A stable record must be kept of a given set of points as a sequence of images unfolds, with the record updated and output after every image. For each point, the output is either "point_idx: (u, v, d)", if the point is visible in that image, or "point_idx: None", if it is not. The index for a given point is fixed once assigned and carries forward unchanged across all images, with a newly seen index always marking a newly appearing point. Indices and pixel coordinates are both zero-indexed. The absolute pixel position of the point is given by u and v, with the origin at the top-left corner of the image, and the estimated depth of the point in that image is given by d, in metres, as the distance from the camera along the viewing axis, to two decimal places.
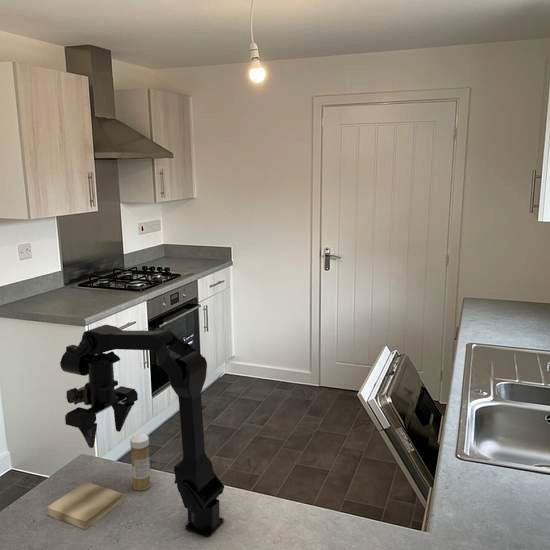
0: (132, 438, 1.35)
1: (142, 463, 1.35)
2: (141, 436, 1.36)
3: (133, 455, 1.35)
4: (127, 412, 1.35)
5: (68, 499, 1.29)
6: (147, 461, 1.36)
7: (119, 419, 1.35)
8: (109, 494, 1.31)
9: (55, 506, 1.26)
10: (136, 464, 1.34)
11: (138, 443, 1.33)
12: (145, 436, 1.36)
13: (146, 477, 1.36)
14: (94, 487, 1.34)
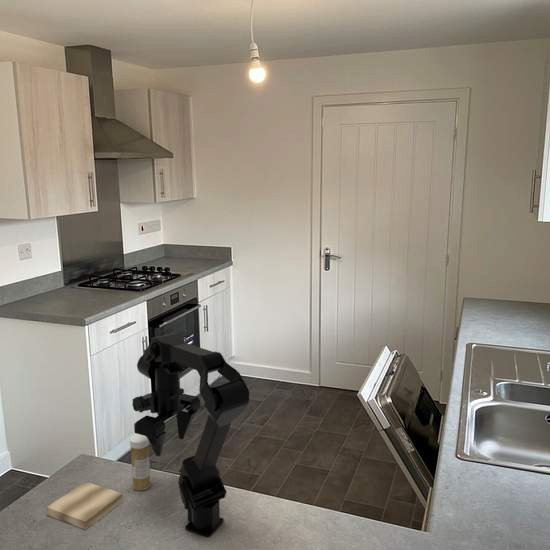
0: (132, 438, 1.35)
1: (142, 463, 1.35)
2: (141, 436, 1.36)
3: (133, 455, 1.35)
4: (191, 420, 1.34)
5: (68, 499, 1.29)
6: (147, 461, 1.36)
7: (182, 427, 1.35)
8: (109, 494, 1.31)
9: (55, 506, 1.26)
10: (136, 464, 1.35)
11: (138, 443, 1.33)
12: (145, 436, 1.36)
13: (146, 477, 1.36)
14: (94, 487, 1.34)
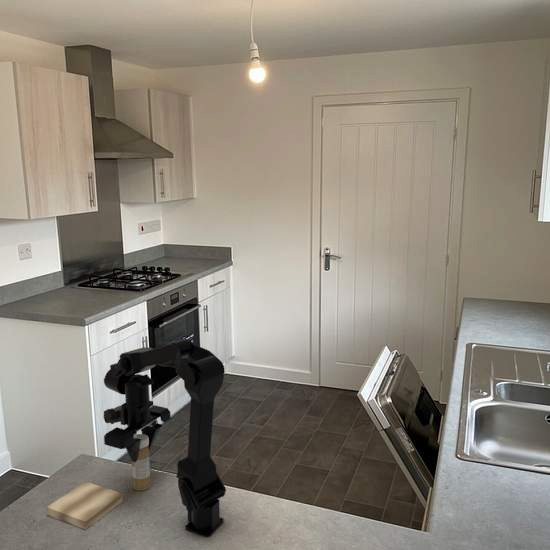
0: None
1: (142, 463, 1.35)
2: (141, 436, 1.36)
3: None
4: (155, 434, 1.37)
5: (68, 499, 1.29)
6: (147, 461, 1.36)
7: None
8: (109, 494, 1.31)
9: (55, 506, 1.26)
10: (136, 464, 1.34)
11: None
12: (145, 436, 1.36)
13: (146, 477, 1.36)
14: (94, 487, 1.34)
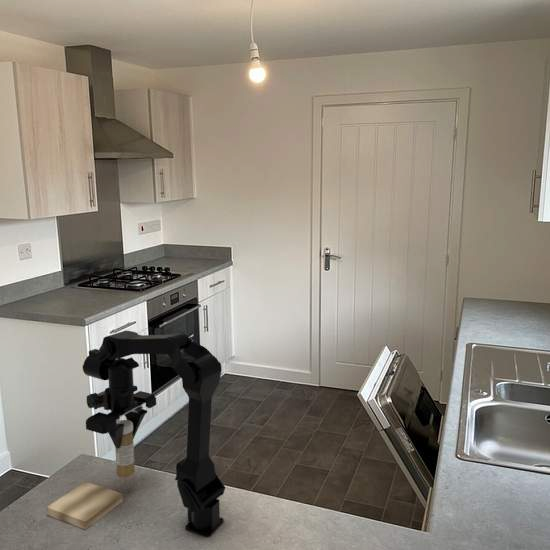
0: None
1: (125, 449, 1.31)
2: (125, 422, 1.33)
3: None
4: (140, 420, 1.34)
5: (68, 499, 1.29)
6: (131, 447, 1.32)
7: None
8: (109, 494, 1.31)
9: (55, 506, 1.26)
10: (120, 450, 1.31)
11: None
12: (129, 422, 1.33)
13: (130, 464, 1.33)
14: (94, 487, 1.34)
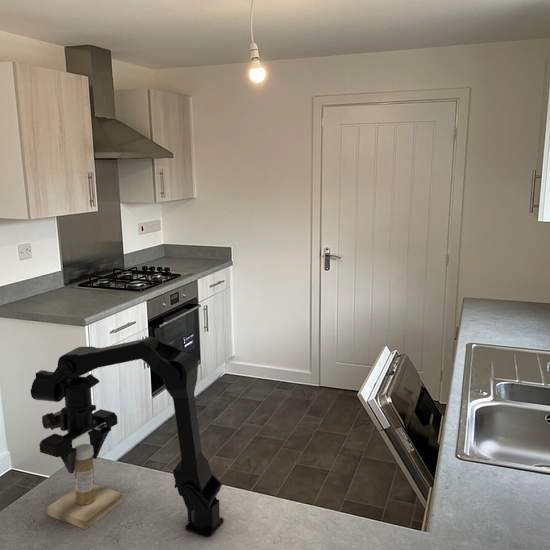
0: None
1: (84, 475, 1.25)
2: (85, 446, 1.27)
3: (75, 467, 1.25)
4: (103, 439, 1.29)
5: (68, 499, 1.29)
6: (91, 473, 1.26)
7: (95, 446, 1.29)
8: (109, 494, 1.31)
9: (55, 506, 1.26)
10: (79, 476, 1.25)
11: (80, 454, 1.24)
12: (89, 446, 1.27)
13: (89, 490, 1.27)
14: (94, 487, 1.34)
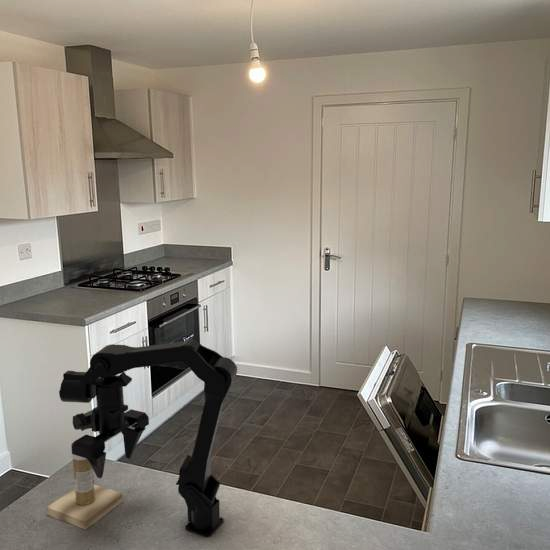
0: None
1: (84, 475, 1.25)
2: None
3: (75, 467, 1.25)
4: (138, 438, 1.25)
5: (68, 499, 1.29)
6: (90, 473, 1.26)
7: (129, 445, 1.26)
8: (109, 494, 1.31)
9: (55, 506, 1.26)
10: (78, 477, 1.25)
11: None
12: None
13: (89, 490, 1.27)
14: (94, 487, 1.34)
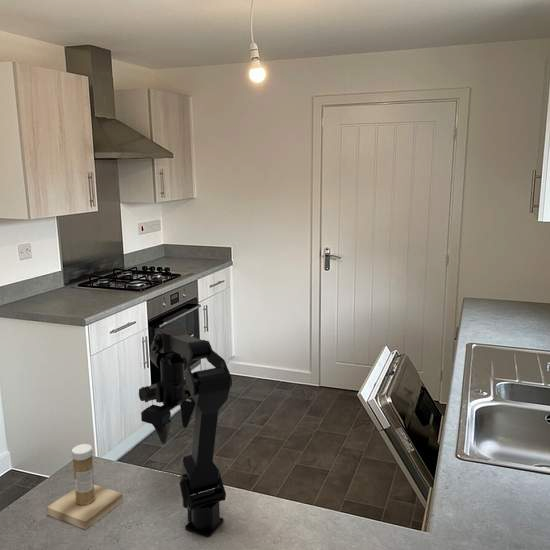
0: (74, 449, 1.26)
1: (84, 475, 1.25)
2: (84, 446, 1.27)
3: (75, 467, 1.25)
4: (194, 409, 1.40)
5: (68, 499, 1.29)
6: (90, 473, 1.26)
7: (186, 416, 1.41)
8: (109, 494, 1.31)
9: (55, 506, 1.26)
10: (78, 477, 1.25)
11: (79, 455, 1.24)
12: (88, 446, 1.27)
13: (89, 490, 1.27)
14: (94, 487, 1.34)
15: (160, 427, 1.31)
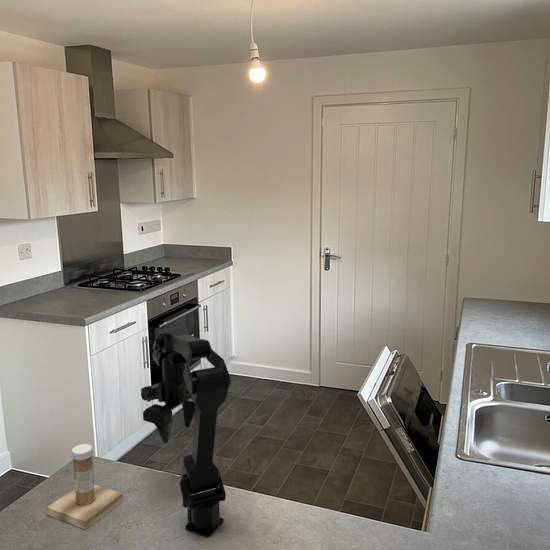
0: (74, 448, 1.26)
1: (84, 475, 1.25)
2: (84, 446, 1.27)
3: (75, 467, 1.25)
4: None
5: (68, 499, 1.29)
6: (90, 473, 1.26)
7: (188, 416, 1.41)
8: (109, 494, 1.31)
9: (55, 506, 1.26)
10: (78, 477, 1.25)
11: (79, 455, 1.24)
12: (88, 446, 1.27)
13: (89, 490, 1.27)
14: (94, 487, 1.34)
15: (162, 426, 1.32)
